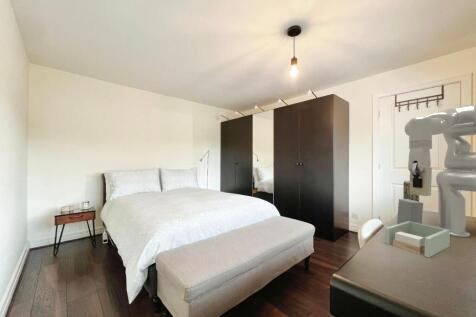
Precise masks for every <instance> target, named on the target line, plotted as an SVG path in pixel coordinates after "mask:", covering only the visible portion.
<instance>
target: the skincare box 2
mask: <svg viewBox="0 0 476 317" xmlns="http://www.w3.org/2000/svg"><path fill="white" fill-rule="evenodd" d="M397 206H398V207H397V208H398V209H397V218H396V225H397V224H400V223H404V222H407V221H410V222H415V223H420V224H423V211H424V202H421V201H419V202H418V201H414V200H409V199H403V198H398V205H397Z"/></svg>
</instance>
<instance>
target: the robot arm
mask: <svg viewBox="0 0 476 317" xmlns="http://www.w3.org/2000/svg"><path fill="white" fill-rule="evenodd" d="M404 132H405V135H407V136H408V149H409V152H408V153H409V154H408V165H407V168H408V169H407V170H408V171H409V172H410V171H411V172H412V174H413V176H412V178H413V187H414V188H422V187H423V179H421V177H422V172H423V171H424V168H432V167H431V165H432V164H431V163H432V162H431V150H432V149H433V136H435V135H441V134H442V135H443V138H444V140H445V142H446V144H447V148H446V152H445V157H444V160H443V161H444V163H443V164H444V168H445V169H447V170H442V171H440V172H438V173H437V174H436V176H435V180H436V186H437V190H438V191H437V192H438V193H437V194H438V226H437V227H438V228H443V229H448V230H450V236H454V237H460V238H469V237H470V236H471V233H470V232H468V231H466V199H465V197H464V195H463V194H462V193H461V192H462V191H463V192H464V191H465V192H474V193H475V192H476V152H475V151H474V152H471V149H472V145H471V143H470V142H468V141H467V140H466V139H464V138H463V137H462V136H464V137H465V136H466V137H467V136H476V104H470V105H463V106H457V107H451V108H447V109H445V110H442V111H440V112H436V113H431V114H428V115H426V116H419V117H413V118H411V119H410V120H409V121H408V122H407V123H406V124H405V126H404ZM416 170H420V171H416ZM460 191H461V192H460Z"/></svg>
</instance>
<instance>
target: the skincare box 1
mask: <svg viewBox="0 0 476 317" xmlns="http://www.w3.org/2000/svg"><path fill="white" fill-rule="evenodd" d="M432 169H433V167H430V168H424V171H423V172H422V177H421V179H423V187H422V188H414V187H413V178H412V176H413V174H412V172H411V171H409V181H410V190H409V194H415V195H419V196H422V197H429V196H432V178H433V177H432V175H433V174H432V172H433V171H432ZM416 171H420V170H416Z"/></svg>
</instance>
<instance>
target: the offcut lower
mask: <svg viewBox="0 0 476 317" xmlns="http://www.w3.org/2000/svg"><path fill="white" fill-rule="evenodd" d="M392 246H393V247H395V248H397V249H398V248H399V249H401V250H405V251H407V252H411V253H414V254H416V255H417V254H418V255H422V254H425V244H424V245H422V246H420V247H418V246H415V245H411V244H408V243H404V242H401V241H397V240H395V239H393V244H392Z"/></svg>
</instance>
